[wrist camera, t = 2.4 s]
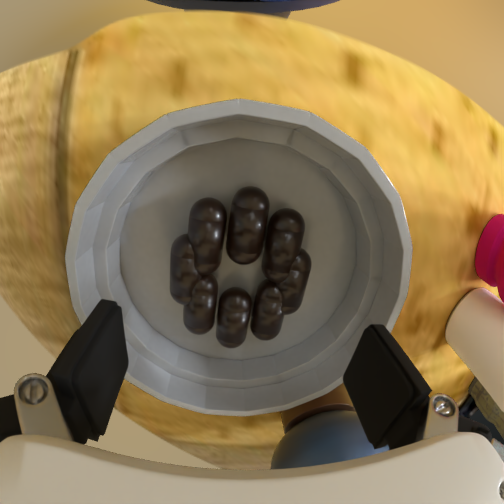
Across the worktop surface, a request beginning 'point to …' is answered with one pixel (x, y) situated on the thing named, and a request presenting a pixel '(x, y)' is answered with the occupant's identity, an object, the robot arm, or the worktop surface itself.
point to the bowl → (230, 273)
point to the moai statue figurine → (487, 405)
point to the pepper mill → (492, 254)
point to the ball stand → (322, 433)
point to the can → (480, 339)
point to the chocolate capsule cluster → (243, 253)
